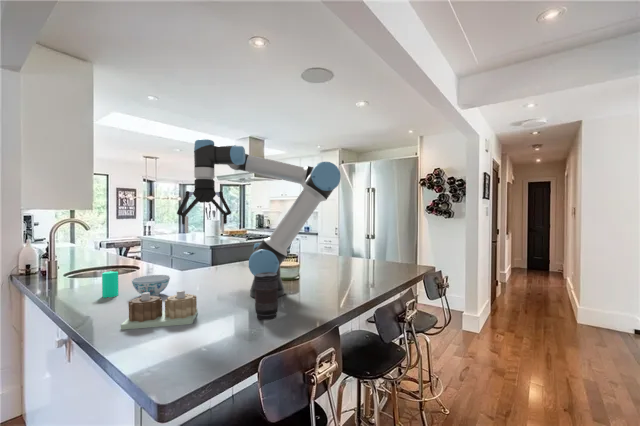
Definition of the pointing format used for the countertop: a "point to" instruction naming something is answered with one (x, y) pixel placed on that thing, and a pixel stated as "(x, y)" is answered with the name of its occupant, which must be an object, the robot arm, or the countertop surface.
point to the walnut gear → (145, 309)
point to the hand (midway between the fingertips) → (204, 232)
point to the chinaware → (151, 284)
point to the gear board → (159, 320)
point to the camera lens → (266, 295)
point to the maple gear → (180, 306)
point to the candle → (109, 284)
